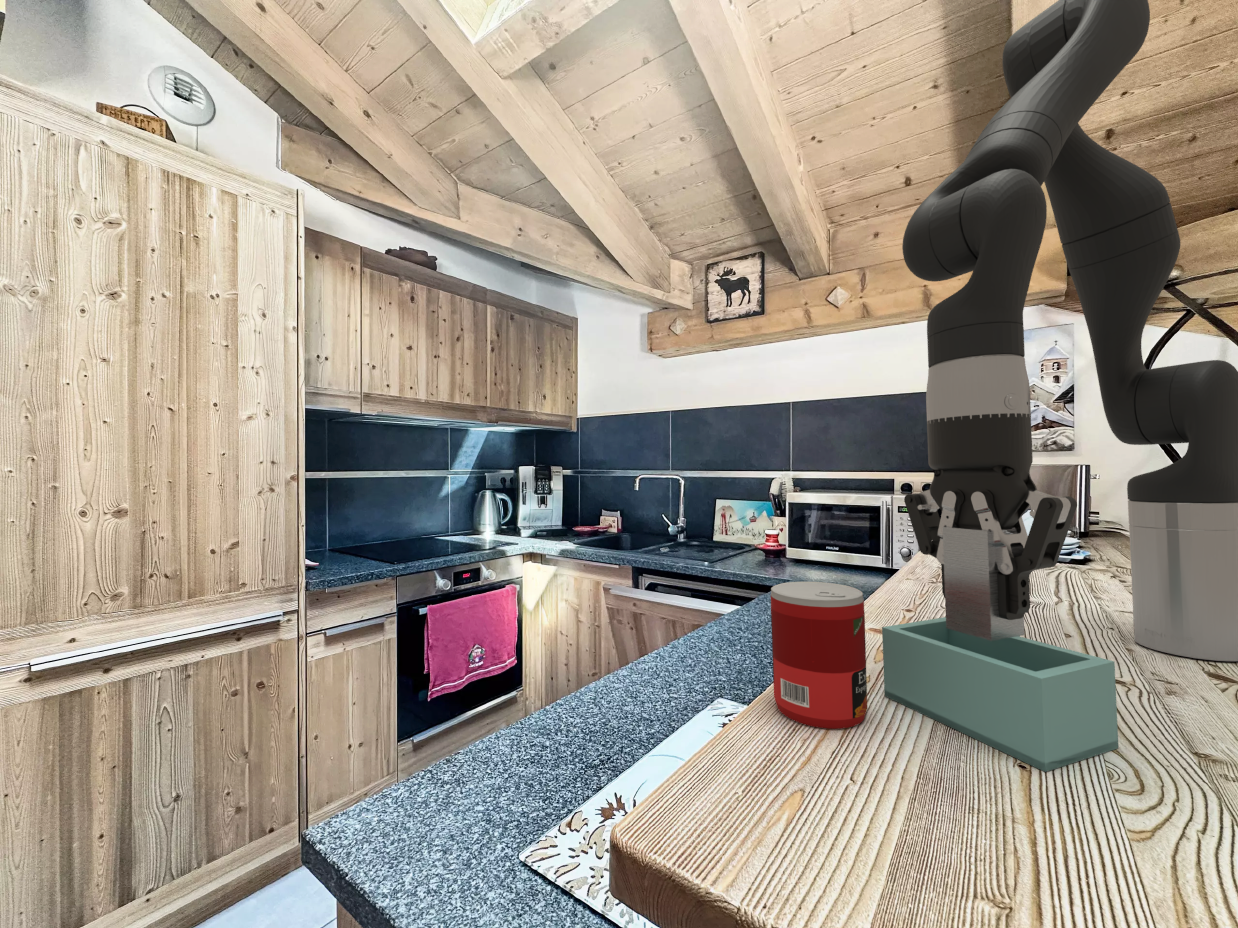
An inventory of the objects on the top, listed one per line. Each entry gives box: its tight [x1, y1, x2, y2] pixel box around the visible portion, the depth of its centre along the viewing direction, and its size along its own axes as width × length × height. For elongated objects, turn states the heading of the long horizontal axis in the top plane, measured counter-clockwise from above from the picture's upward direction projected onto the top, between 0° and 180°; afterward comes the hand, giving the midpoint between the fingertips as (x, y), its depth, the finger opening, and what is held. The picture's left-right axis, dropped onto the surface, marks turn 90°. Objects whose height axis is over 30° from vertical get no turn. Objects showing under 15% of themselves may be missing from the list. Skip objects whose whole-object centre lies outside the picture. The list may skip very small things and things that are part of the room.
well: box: [881, 616, 1119, 773], centre depth 45 cm, size 8×14×7 cm, turn 20°
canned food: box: [770, 581, 868, 730], centre depth 48 cm, size 8×8×11 cm
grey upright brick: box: [943, 527, 1025, 641], centre depth 46 cm, size 4×4×9 cm
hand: (983, 610), depth 46 cm, fingers closed on grey upright brick, 4 cm apart
